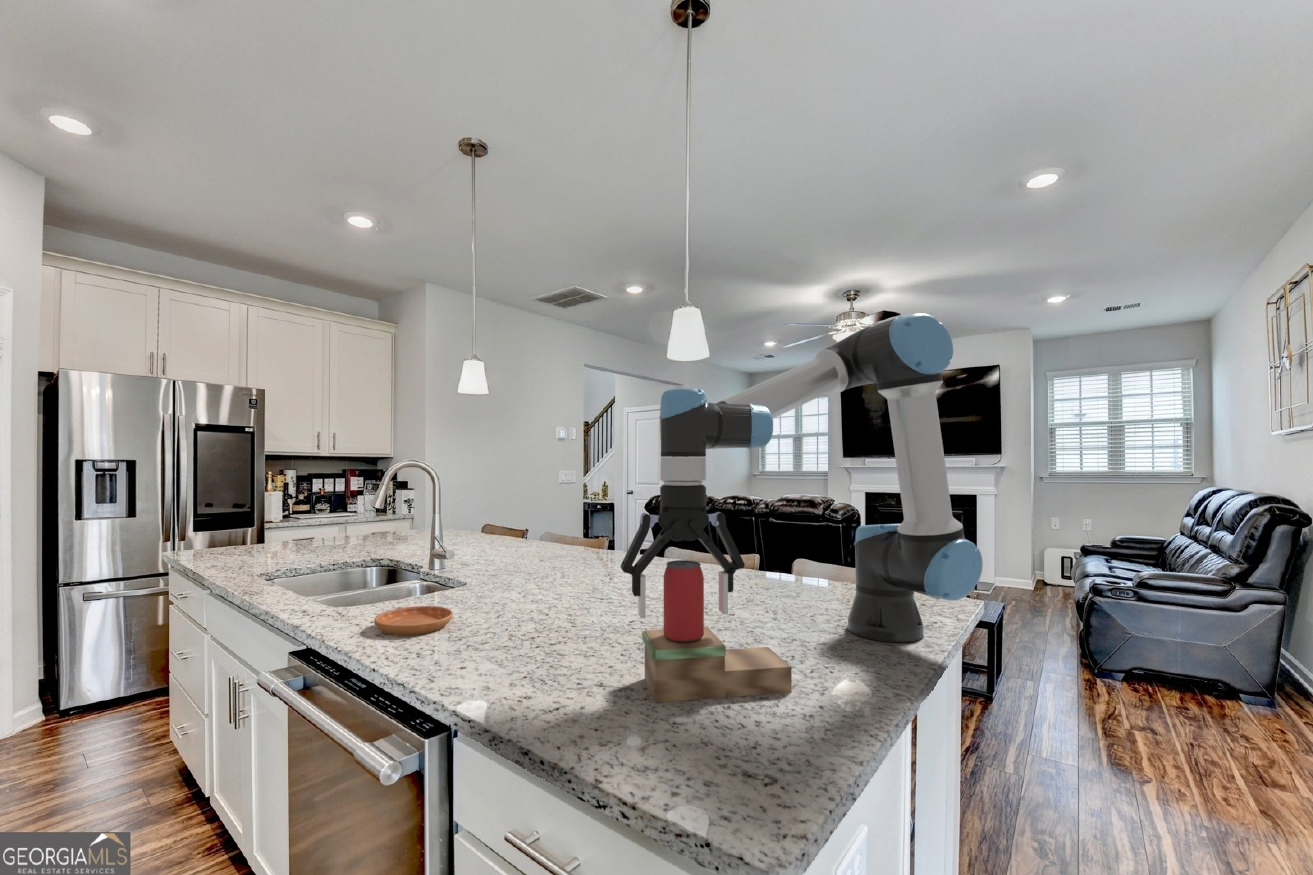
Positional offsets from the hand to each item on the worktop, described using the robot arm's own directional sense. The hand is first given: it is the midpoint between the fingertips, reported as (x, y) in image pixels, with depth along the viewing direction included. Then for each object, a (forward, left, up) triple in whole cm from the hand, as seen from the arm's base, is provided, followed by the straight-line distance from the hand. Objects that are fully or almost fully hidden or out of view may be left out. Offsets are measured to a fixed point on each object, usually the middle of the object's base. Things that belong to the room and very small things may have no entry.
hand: (683, 614), depth 95 cm
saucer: (+50, -44, -12) cm, 68 cm away
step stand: (-6, 0, -12) cm, 13 cm away
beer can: (0, 0, -4) cm, 4 cm away
